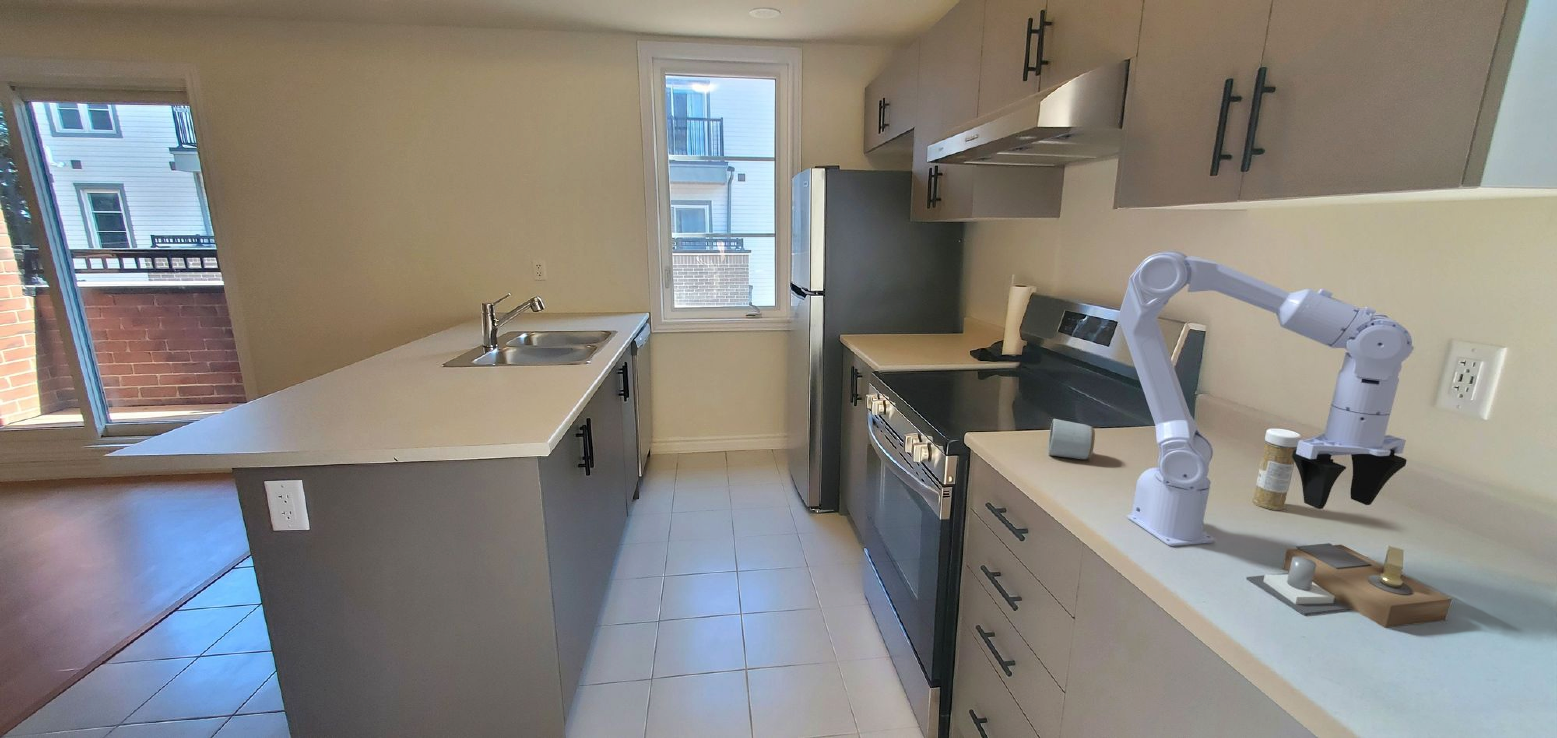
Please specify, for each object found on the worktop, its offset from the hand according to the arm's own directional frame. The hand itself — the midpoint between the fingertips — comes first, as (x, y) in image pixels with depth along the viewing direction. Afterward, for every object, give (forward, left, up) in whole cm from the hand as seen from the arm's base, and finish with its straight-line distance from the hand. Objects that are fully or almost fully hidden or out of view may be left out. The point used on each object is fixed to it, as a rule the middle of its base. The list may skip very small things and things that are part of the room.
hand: (1336, 503), depth 83 cm
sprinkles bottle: (-19, +12, -11) cm, 25 cm away
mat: (+4, -9, -10) cm, 14 cm away
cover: (+4, -9, -10) cm, 14 cm away
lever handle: (+7, +2, -7) cm, 10 cm away
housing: (+5, 0, -10) cm, 12 cm away
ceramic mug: (-46, -8, -11) cm, 48 cm away
